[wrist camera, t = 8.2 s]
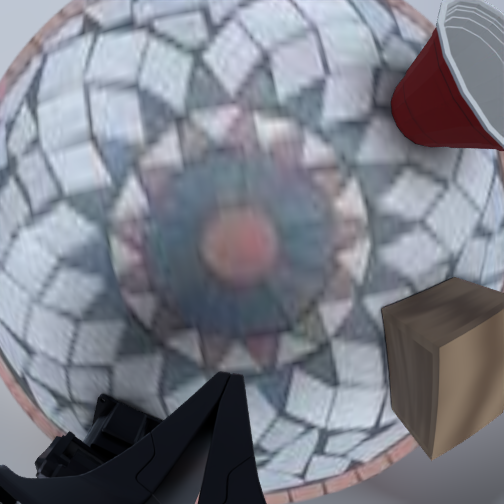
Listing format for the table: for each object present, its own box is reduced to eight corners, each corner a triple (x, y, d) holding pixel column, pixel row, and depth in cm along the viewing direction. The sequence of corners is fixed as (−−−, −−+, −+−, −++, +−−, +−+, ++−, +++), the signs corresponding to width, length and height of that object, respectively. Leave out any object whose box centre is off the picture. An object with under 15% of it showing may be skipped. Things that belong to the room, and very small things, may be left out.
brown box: (391, 409, 23) (431, 460, 15) (381, 308, 22) (439, 347, 14) (456, 375, 24) (502, 412, 16) (454, 277, 22) (518, 298, 14)
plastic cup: (334, 81, 20) (405, -8, 8) (419, 49, 20) (495, -10, 8) (404, 200, 21) (520, 195, 10) (476, 149, 21) (571, 130, 9)
